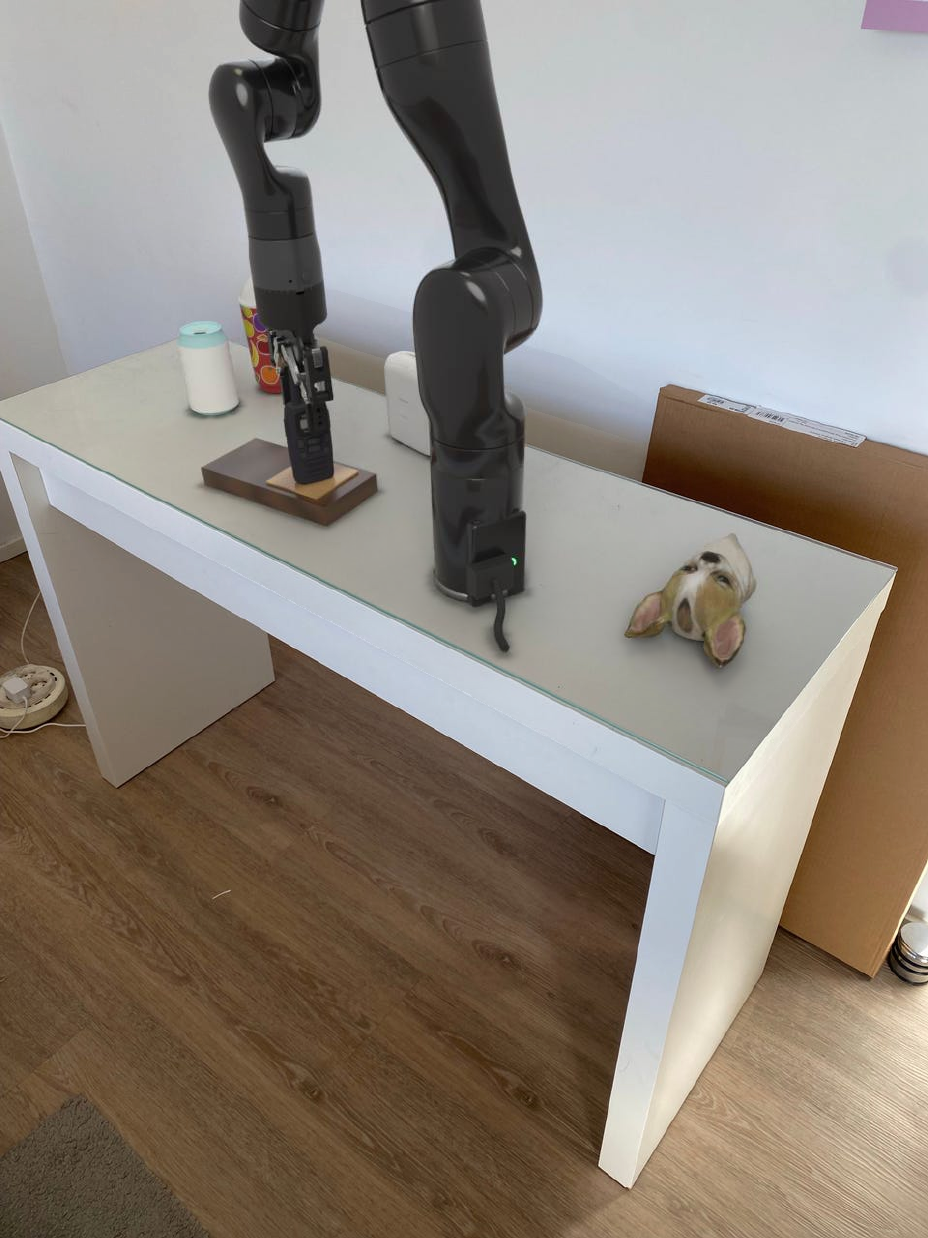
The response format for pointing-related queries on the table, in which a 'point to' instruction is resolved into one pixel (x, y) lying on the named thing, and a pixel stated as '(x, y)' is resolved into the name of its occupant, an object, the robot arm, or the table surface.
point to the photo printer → (405, 402)
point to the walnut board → (288, 482)
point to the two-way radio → (306, 442)
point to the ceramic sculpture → (702, 601)
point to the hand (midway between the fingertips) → (305, 418)
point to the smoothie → (258, 341)
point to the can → (207, 368)
